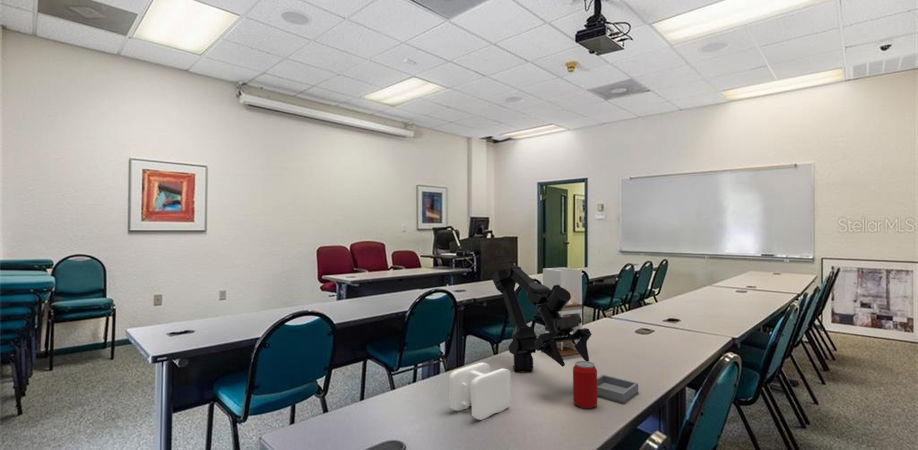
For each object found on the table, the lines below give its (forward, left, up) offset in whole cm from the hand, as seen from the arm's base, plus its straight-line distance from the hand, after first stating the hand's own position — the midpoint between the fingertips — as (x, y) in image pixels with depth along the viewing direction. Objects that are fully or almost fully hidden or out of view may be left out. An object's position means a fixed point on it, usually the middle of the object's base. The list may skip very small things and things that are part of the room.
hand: (576, 363), depth 125 cm
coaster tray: (+13, +5, -11) cm, 17 cm away
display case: (+7, +45, -11) cm, 47 cm away
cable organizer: (-29, -7, -11) cm, 32 cm away
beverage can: (+2, -4, -11) cm, 12 cm away
